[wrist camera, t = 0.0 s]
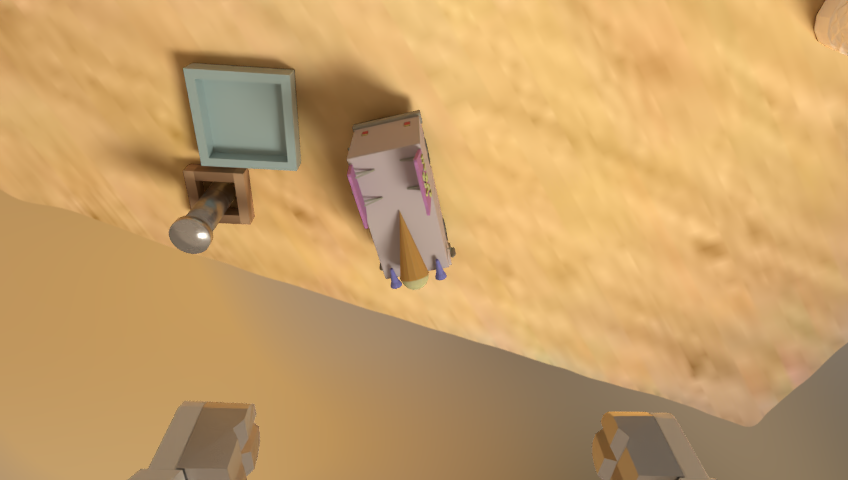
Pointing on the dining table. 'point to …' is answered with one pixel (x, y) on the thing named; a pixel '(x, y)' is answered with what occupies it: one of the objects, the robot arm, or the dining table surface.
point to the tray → (244, 116)
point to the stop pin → (202, 219)
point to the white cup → (833, 25)
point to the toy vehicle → (399, 198)
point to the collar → (239, 176)
